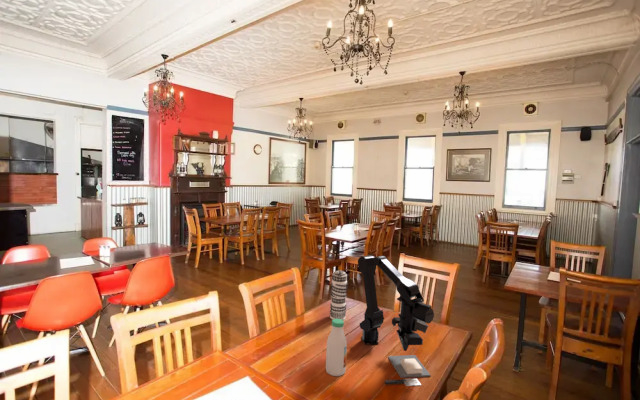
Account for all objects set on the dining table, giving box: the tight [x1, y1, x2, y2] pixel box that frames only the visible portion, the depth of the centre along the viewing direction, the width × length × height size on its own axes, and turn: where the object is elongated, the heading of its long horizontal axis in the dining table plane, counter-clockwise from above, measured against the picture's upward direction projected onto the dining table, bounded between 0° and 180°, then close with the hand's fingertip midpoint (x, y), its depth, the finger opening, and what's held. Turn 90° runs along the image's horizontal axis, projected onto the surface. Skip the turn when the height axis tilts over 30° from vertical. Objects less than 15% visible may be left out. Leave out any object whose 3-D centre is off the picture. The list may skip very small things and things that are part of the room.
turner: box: [384, 377, 422, 387], centre depth 120 cm, size 13×4×1 cm, turn 98°
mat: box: [387, 354, 431, 379], centre depth 131 cm, size 12×14×1 cm
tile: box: [400, 358, 422, 374], centre depth 129 cm, size 6×2×7 cm
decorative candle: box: [329, 270, 349, 321], centre depth 174 cm, size 9×9×25 cm
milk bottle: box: [325, 319, 348, 377], centre depth 126 cm, size 8×8×20 cm
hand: (404, 350), depth 135 cm, fingers closed
